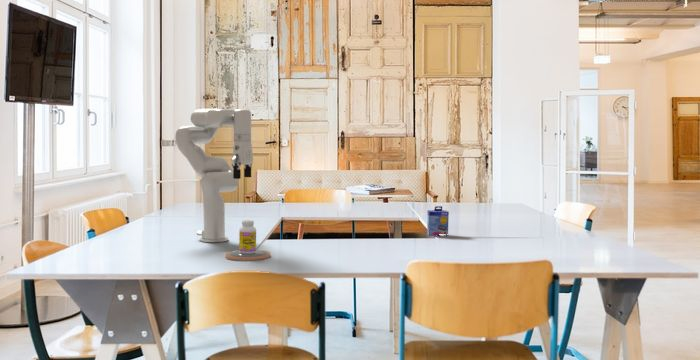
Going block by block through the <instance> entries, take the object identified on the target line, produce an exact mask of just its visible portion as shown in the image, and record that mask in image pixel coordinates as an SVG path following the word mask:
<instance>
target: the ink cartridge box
mask: <svg viewBox="0 0 700 360" xmlns="http://www.w3.org/2000/svg"><path fill="white" fill-rule="evenodd" d="M426 211H427V214H426V215H427V221H426V222H427V224H426V226H427V228H426V234H427V236H428V237H437V236H436V235H439V234H446V235H447V234H448V235H449V215H450V214H449V212H450V211H448V210H446V209H443V206H442V205H440V206H439V205H438V206H434V209H432V210H431V209H430V210H429V209H428V210H426Z"/></svg>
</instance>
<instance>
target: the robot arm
mask: <svg viewBox="0 0 700 360" xmlns="http://www.w3.org/2000/svg"><path fill="white" fill-rule="evenodd" d="M190 121H191V123H192V125H186V126H180V127H179V128H178V129H177V130H176V131H175V136H174V137H175V143H176V146H177V148H178V150H179V152H180V154H182V155H183V156H184V157H185V158H186V159H187V161H188V162H189V165H190V166H191V167H192V169H193V170H194V171H195V173H196V174H197V175H198V176H199V177H200V178H201V179H200V187H201V192H202V199H203V200H202V203H203V205H202V207H203V230H198V231H197V232H196V235H197V236H200V237H201V238H200V242H202V243H222V242H227V241H229V237H228V236H226V233H225V232H226V226H225V225H226V222H225V221H226V217H225V216H226V214H225V211H226V210H225V209H226V208H225V205H226V204H225V200H224V198H223V196H222V195H221V193H231V192H234V191H236V190H237V189H238V187H239V180H240V179H241V175H242V172H241V166H242V165H243V166H244V167H243V168H244V169H243V171H244V172H243V176H244V178H252V168H253V167H252V165H253V162H254V158H253V157H254V156H253V144H252V112H251V111H250V110H249V109H233V108H232V109H229V108H201V109H200V108H199V109H196V110H194V111H193V112H192V113H191V115H190ZM221 127H233V149H232V150H233V151H232V158H231V159H230V160H231V165H230V163H229V162H228V161H227V160H226V158H225V157H222V156H210V155H209V156H208V155H207V154H206V153H205V151H204V149H202V148H201V147H200V146H199V145H200V144H201V145H203V144H209V143H210V142H211V141H213V139H214V137H215V136H216V134H217V132H218V131H219V129H220V128H221ZM198 144H199V145H198Z"/></svg>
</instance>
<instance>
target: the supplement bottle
mask: <svg viewBox="0 0 700 360" xmlns="http://www.w3.org/2000/svg"><path fill="white" fill-rule="evenodd" d="M254 224H255V221H254V220H247V219H246V220H242V221H241V225H242V226H241V227H240V228H239V232H238V233H239V235H238V236H239V240H238V241H239V245H238V247H239V248H238V249H239V252H240V253H242V254H253V253H255V252H256V250H257V229H256V227H255V226H254Z"/></svg>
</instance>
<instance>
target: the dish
mask: <svg viewBox="0 0 700 360" xmlns="http://www.w3.org/2000/svg"><path fill="white" fill-rule="evenodd" d="M271 254H272V253H271V252H270V251H269V250H262V249H256V252H255V253H253V254H242V253H240V252H239V250H232V251H228V252H225V253H224V258H225V259H226V260H230V261H237V262H238V261H241V262H247V261H251V262H252V261H261V260H262V261H263V260H266V259H270V257H271V256H272V255H271Z"/></svg>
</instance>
